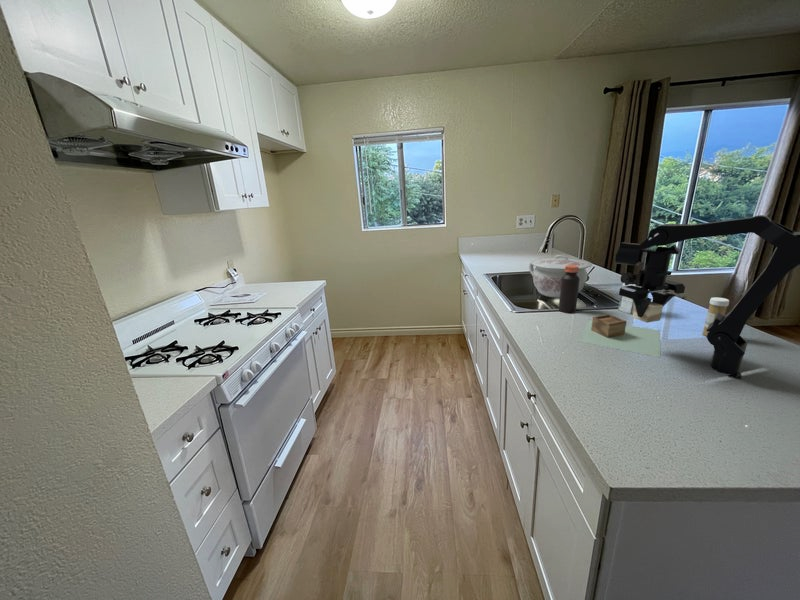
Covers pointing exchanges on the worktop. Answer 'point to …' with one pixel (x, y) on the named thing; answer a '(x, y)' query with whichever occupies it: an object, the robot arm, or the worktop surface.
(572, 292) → the vinegar
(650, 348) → the board
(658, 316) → the ash block
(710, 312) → the sprinkles bottle
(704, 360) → the worktop surface
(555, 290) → the chamber pot
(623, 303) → the syrup box
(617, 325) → the walnut socket block
